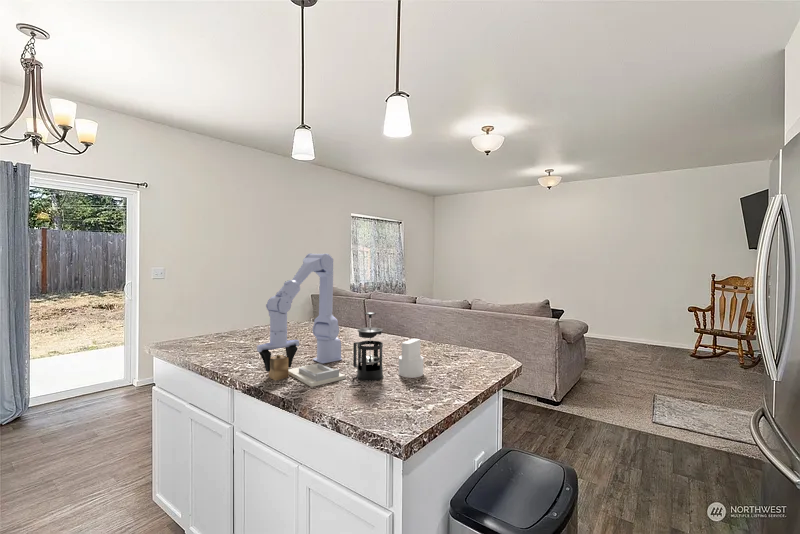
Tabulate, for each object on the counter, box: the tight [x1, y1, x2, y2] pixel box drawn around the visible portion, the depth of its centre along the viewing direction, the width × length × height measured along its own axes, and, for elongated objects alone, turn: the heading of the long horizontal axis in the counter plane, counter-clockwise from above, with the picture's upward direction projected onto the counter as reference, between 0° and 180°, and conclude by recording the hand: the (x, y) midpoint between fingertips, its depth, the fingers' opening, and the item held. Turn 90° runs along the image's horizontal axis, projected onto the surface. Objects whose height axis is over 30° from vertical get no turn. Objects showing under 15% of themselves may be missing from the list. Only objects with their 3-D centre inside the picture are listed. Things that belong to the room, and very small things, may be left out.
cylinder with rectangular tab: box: [398, 338, 424, 379], centre depth 136 cm, size 9×9×12 cm
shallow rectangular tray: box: [288, 362, 346, 388], centre depth 132 cm, size 13×19×4 cm
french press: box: [352, 311, 384, 382], centre depth 131 cm, size 12×9×23 cm
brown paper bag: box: [268, 354, 289, 381], centre depth 130 cm, size 5×5×8 cm
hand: (278, 368), depth 130 cm, fingers open, 7 cm apart
